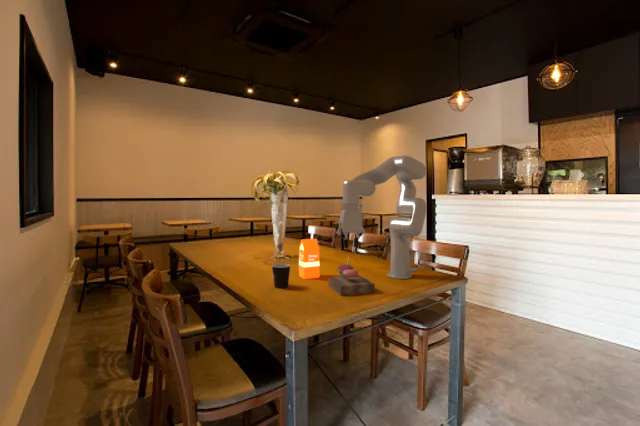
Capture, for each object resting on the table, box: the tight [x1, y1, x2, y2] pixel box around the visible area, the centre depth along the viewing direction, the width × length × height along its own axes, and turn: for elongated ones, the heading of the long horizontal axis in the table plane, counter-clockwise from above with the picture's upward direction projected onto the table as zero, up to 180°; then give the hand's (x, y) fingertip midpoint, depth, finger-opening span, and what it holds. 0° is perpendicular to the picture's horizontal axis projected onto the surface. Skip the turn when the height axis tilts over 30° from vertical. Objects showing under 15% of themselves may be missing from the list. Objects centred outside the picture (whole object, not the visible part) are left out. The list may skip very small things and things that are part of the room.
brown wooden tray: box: [328, 274, 376, 296], centre depth 149 cm, size 16×16×4 cm
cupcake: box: [336, 255, 355, 277], centre depth 169 cm, size 9×8×12 cm
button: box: [343, 269, 359, 277], centre depth 149 cm, size 7×7×2 cm
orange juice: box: [298, 238, 321, 280], centre depth 172 cm, size 8×9×20 cm
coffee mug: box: [271, 263, 291, 289], centre depth 155 cm, size 12×9×10 cm
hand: (350, 247), depth 148 cm, fingers open, 4 cm apart
